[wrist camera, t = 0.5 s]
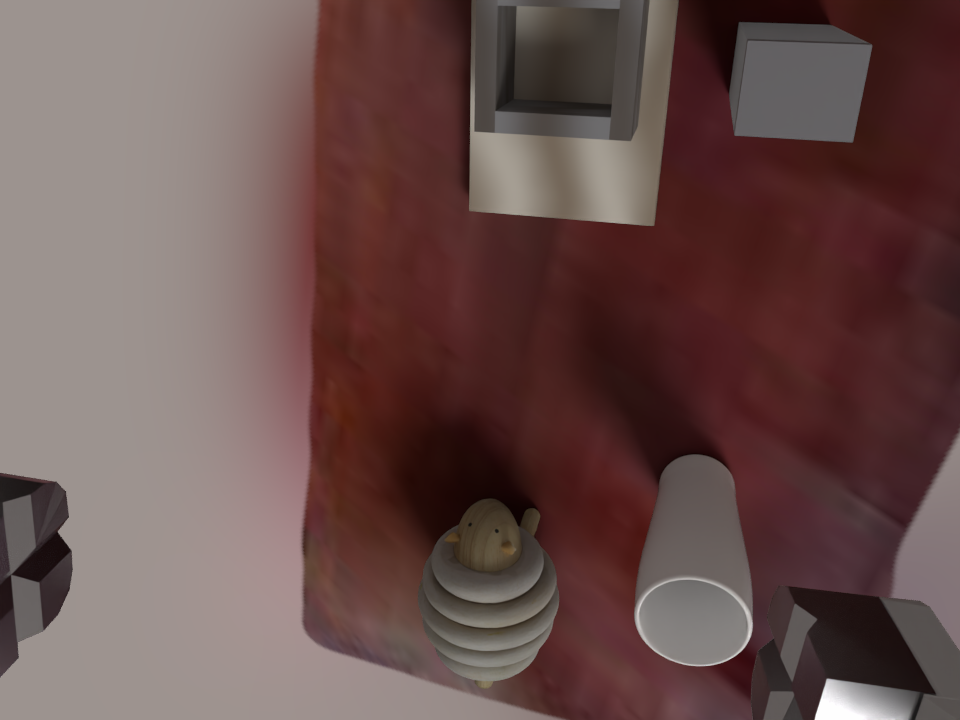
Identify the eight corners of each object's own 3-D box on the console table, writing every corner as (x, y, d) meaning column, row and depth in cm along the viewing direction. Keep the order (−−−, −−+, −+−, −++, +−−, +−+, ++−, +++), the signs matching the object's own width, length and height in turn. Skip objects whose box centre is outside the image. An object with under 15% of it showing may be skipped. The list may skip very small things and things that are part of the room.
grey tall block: (830, 24, 47) (872, 44, 35) (817, 98, 49) (852, 142, 37) (738, 21, 48) (747, 40, 36) (728, 94, 50) (734, 135, 38)
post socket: (693, -140, 46) (690, -155, 40) (655, 219, 54) (648, 249, 49) (479, -138, 48) (448, -152, 43) (474, 205, 57) (448, 231, 51)
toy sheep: (567, 468, 64) (541, 559, 54) (572, 641, 70) (549, 749, 61) (434, 458, 66) (386, 543, 57) (451, 626, 73) (411, 727, 63)
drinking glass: (689, 535, 63) (683, 685, 50) (630, 473, 62) (608, 608, 49) (765, 491, 60) (780, 638, 47) (704, 425, 59) (701, 555, 46)
